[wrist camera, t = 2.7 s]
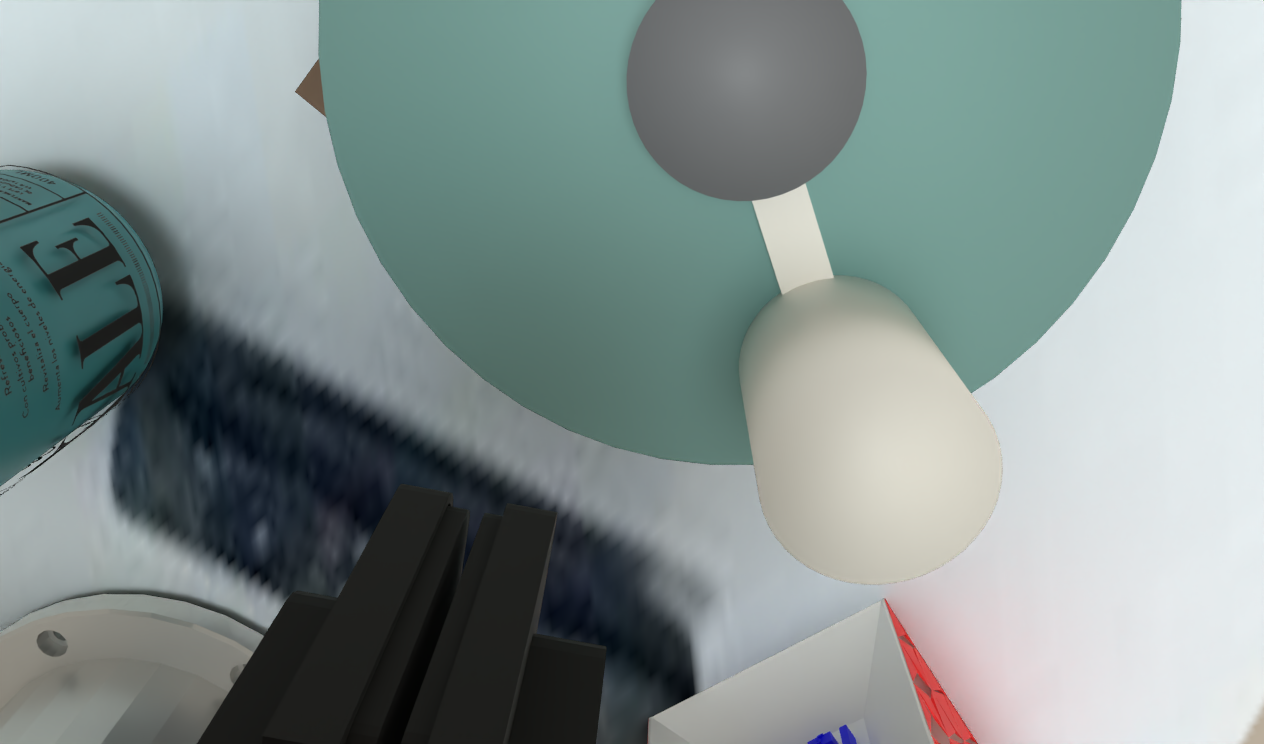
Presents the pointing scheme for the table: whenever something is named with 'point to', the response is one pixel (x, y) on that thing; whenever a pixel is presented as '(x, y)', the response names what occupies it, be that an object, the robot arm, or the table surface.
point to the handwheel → (756, 224)
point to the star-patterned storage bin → (824, 694)
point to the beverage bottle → (67, 313)
